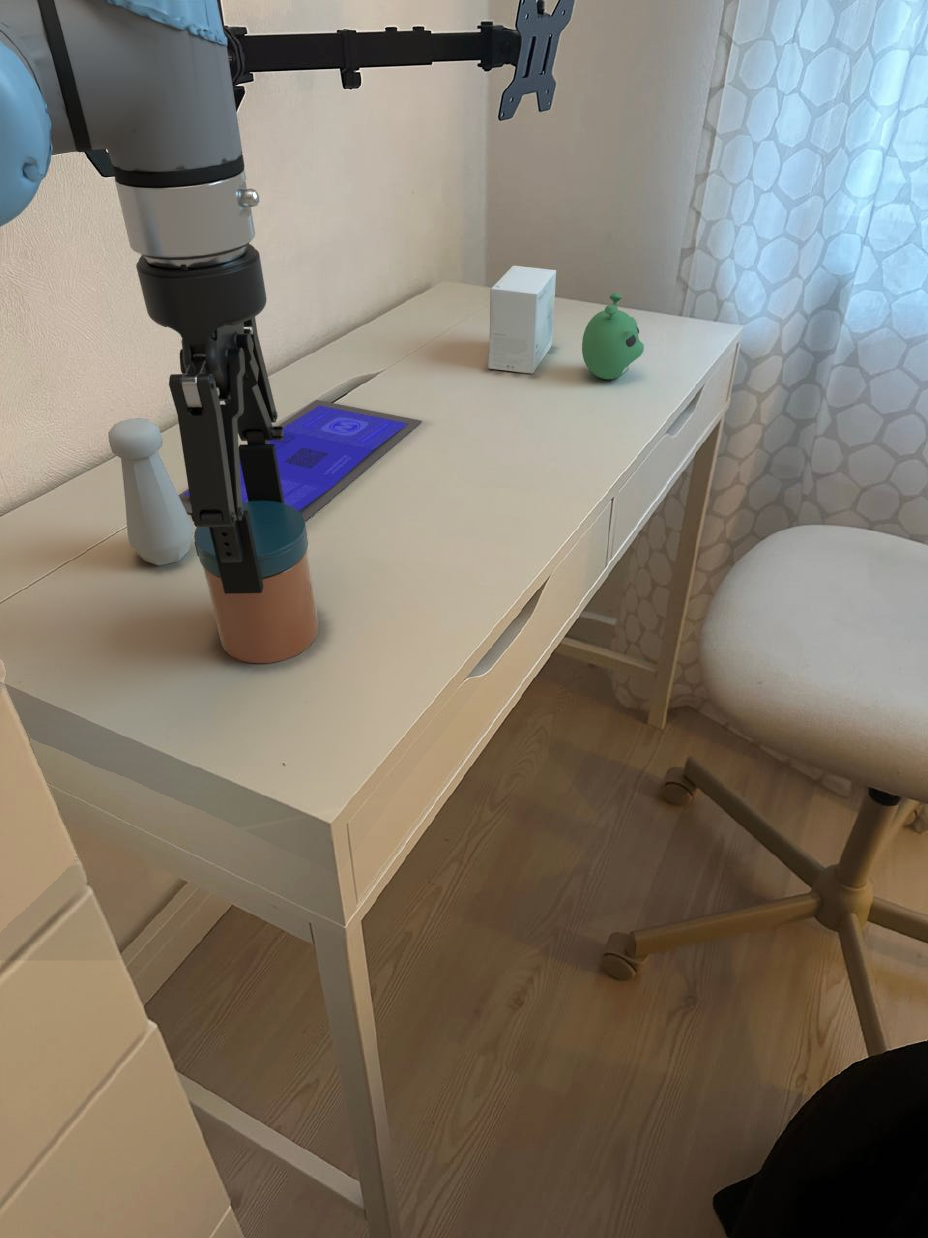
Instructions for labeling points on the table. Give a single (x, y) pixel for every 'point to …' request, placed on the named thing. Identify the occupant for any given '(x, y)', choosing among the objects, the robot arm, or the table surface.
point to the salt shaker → (150, 494)
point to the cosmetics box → (521, 319)
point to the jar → (267, 616)
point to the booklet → (327, 451)
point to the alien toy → (611, 342)
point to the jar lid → (264, 538)
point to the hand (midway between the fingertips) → (257, 552)
